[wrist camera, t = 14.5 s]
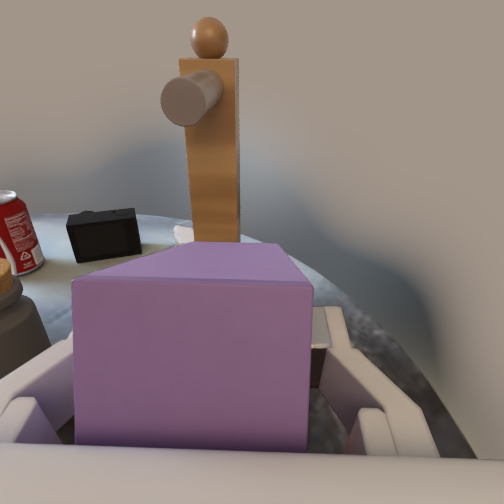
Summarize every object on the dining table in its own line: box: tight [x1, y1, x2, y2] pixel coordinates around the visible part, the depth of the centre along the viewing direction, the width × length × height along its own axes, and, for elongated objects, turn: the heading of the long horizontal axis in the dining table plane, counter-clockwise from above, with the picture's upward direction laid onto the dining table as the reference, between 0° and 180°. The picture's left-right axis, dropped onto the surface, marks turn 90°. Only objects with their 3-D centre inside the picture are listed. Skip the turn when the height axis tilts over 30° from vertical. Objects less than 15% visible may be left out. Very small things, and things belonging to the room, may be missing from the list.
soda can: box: [0, 191, 44, 276], centre depth 53 cm, size 7×7×12 cm
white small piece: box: [173, 225, 194, 246], centre depth 57 cm, size 12×8×5 cm
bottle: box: [0, 258, 51, 379], centre depth 32 cm, size 6×6×15 cm
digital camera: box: [66, 208, 142, 263], centre depth 59 cm, size 10×5×7 cm, turn 108°
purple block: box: [72, 241, 314, 453], centre depth 13 cm, size 12×5×5 cm, turn 179°
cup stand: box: [160, 17, 240, 243], centre depth 32 cm, size 18×10×33 cm, turn 178°
